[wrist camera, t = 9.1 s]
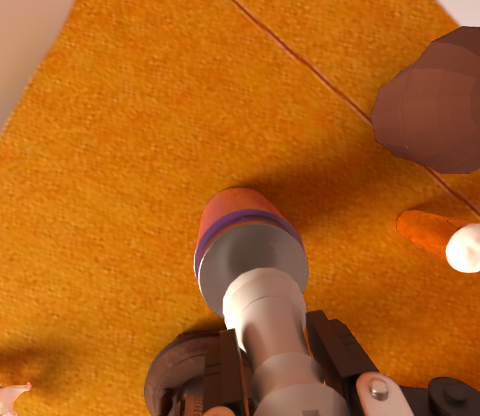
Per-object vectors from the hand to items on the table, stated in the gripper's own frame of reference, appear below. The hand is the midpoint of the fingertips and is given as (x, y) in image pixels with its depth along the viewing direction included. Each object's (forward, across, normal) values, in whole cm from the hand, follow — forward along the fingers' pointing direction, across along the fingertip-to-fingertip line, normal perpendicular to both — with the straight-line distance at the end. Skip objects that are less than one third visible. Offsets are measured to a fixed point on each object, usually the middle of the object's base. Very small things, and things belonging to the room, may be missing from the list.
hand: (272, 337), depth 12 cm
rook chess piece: (+3, 0, 0) cm, 3 cm away
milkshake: (+18, -20, +4) cm, 27 cm away
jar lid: (+6, 0, 0) cm, 6 cm away
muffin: (+18, -20, -8) cm, 28 cm away
